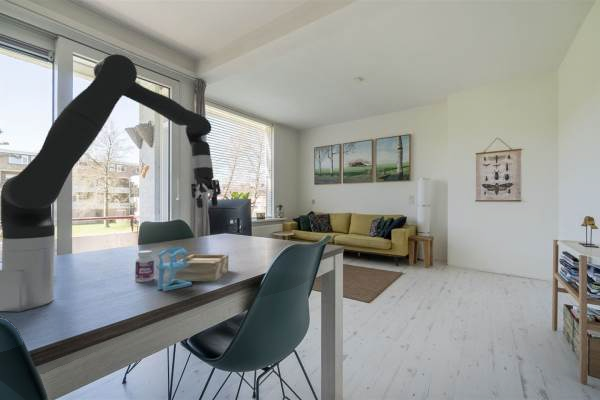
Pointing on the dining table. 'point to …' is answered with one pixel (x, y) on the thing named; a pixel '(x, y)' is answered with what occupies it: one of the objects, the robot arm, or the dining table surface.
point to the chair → (172, 269)
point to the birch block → (203, 268)
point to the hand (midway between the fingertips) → (207, 206)
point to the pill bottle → (144, 267)
